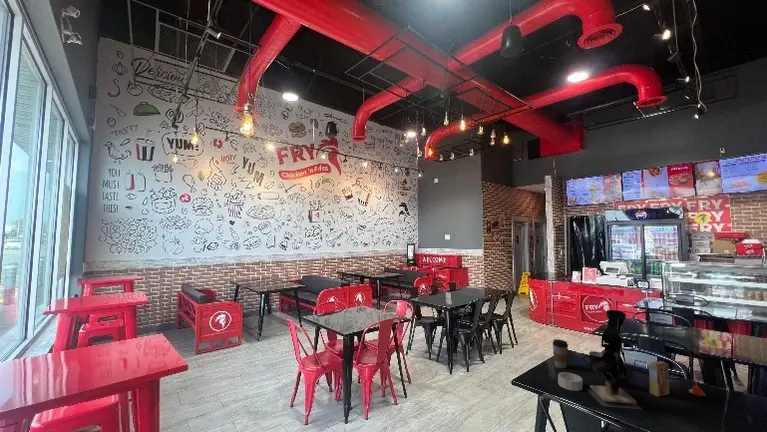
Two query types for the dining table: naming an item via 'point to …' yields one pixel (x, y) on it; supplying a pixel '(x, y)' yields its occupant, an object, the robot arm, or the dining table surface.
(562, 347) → the coffee cup
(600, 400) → the mat
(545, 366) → the dining table surface
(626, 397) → the cover tile
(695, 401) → the dining table surface
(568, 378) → the bowl
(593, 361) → the coffee mug
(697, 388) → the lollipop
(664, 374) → the candy box
